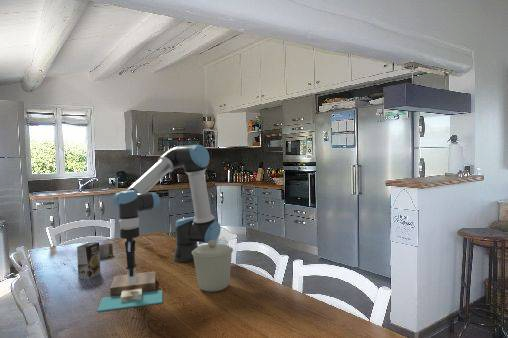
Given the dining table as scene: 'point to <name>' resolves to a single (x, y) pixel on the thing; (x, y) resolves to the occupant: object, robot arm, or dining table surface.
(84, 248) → the coffee box
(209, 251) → the canister
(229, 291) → the dining table surface
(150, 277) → the walnut board
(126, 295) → the birch tile
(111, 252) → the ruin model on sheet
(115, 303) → the teal mat
